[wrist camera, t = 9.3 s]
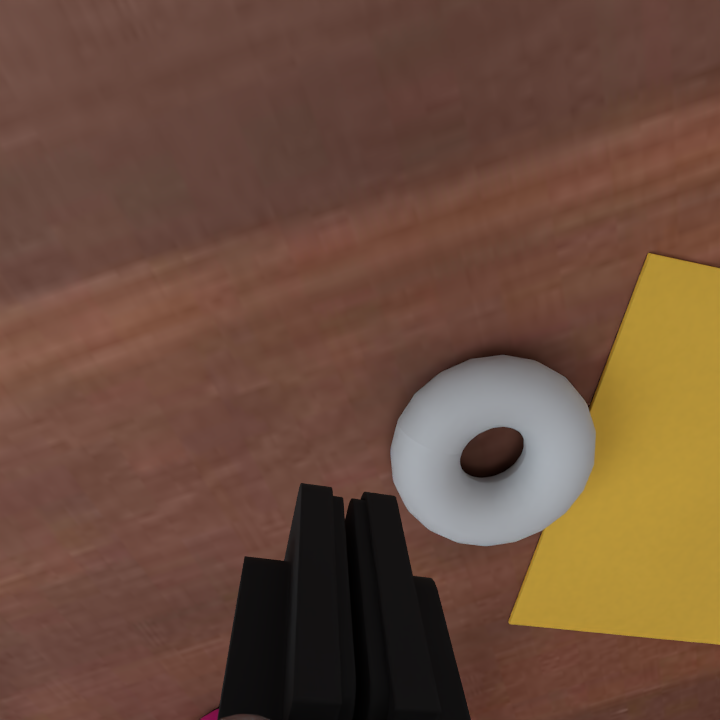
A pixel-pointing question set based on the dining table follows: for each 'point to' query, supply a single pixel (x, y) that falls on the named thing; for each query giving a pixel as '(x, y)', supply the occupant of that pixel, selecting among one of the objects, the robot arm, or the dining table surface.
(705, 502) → the cloth
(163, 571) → the dining table surface
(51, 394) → the dining table surface
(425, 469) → the donut
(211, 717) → the pepper mill
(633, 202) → the dining table surface
